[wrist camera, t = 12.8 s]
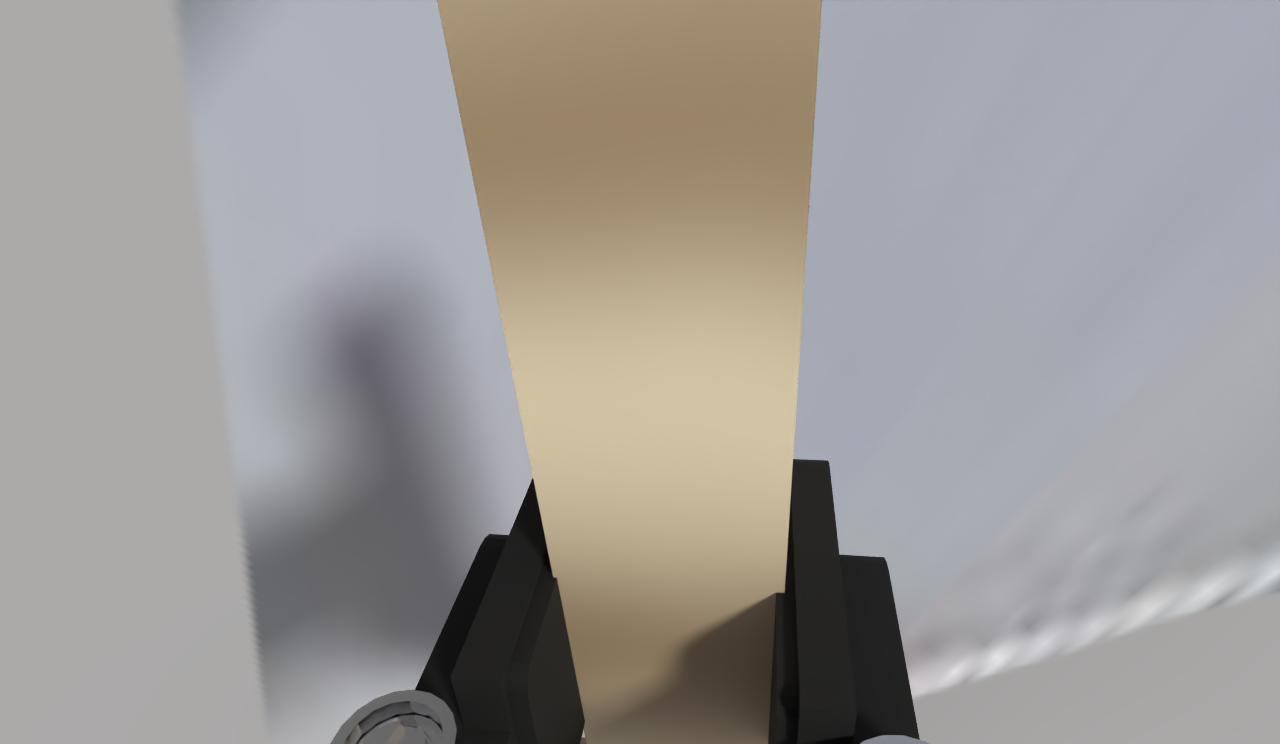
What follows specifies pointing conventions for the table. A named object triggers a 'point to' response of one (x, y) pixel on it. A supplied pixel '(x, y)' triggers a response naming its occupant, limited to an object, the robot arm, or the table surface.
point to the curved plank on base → (651, 326)
